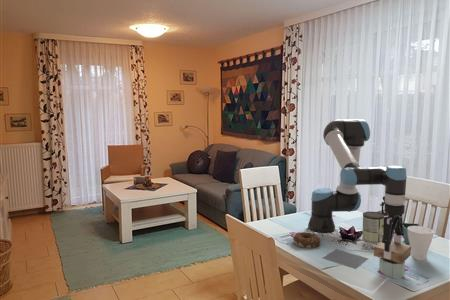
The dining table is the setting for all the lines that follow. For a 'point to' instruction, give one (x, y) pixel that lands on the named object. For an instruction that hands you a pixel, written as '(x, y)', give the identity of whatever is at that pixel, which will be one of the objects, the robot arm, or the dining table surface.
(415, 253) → the cup
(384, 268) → the bowl
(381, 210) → the coffee grinder
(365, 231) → the coffee can
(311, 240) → the donut
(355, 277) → the dining table surface
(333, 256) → the mat
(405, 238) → the flower pot
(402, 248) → the board
